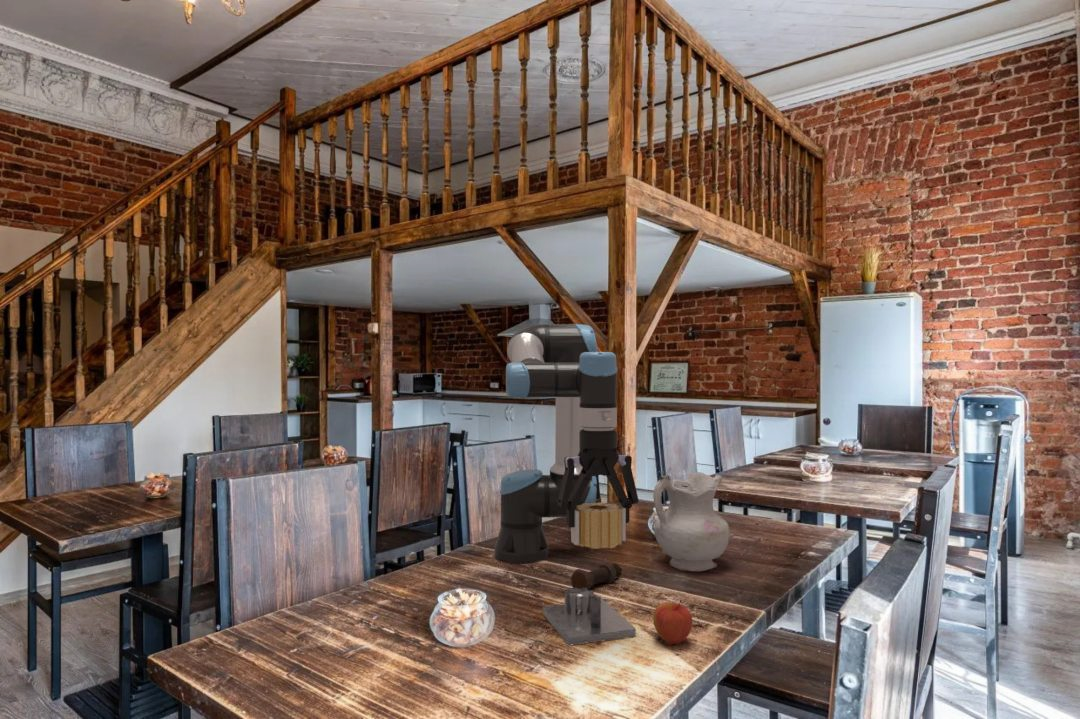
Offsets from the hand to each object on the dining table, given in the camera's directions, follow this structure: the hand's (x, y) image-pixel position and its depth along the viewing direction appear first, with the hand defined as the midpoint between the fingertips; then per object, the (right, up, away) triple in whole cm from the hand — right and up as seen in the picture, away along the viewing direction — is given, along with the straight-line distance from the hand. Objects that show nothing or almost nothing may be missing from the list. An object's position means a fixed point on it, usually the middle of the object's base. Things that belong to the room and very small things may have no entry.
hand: (598, 541), depth 125 cm
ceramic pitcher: (+28, -19, +41) cm, 53 cm away
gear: (0, 0, 0) cm, 0 cm away
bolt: (+3, -19, +27) cm, 33 cm away
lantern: (+4, -19, +71) cm, 73 cm away
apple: (+14, -18, -5) cm, 23 cm away
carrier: (-2, -18, +3) cm, 18 cm away
